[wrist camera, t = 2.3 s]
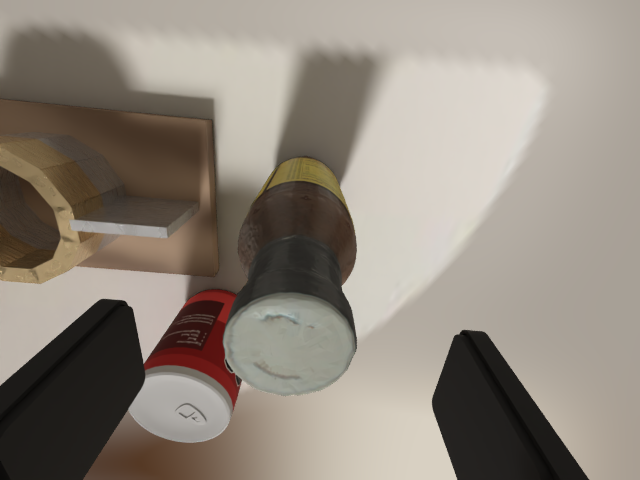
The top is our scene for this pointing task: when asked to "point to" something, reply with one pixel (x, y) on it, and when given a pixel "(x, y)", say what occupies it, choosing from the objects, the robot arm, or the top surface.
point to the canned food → (190, 374)
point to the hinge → (69, 207)
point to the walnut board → (137, 178)
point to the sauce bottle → (294, 284)
